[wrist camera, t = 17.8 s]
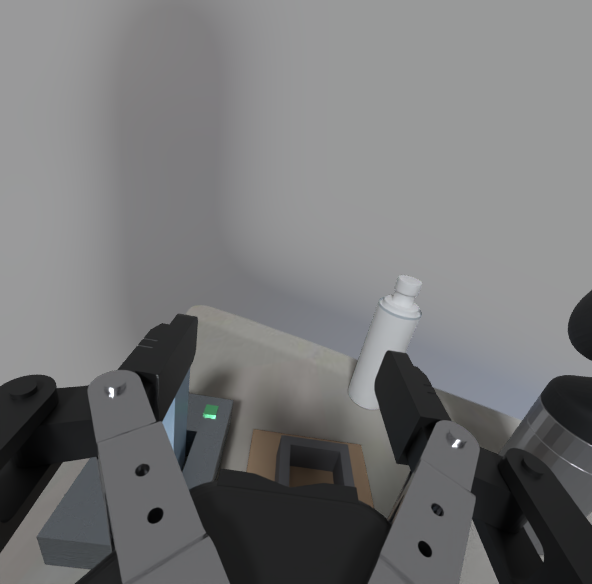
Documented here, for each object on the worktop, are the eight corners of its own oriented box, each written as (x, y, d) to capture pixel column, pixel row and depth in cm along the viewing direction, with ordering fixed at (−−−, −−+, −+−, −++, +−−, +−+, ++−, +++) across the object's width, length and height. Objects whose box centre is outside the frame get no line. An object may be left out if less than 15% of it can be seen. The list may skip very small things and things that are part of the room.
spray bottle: (347, 379, 59) (388, 258, 48) (381, 387, 58) (430, 267, 48) (348, 405, 52) (396, 272, 42) (386, 414, 52) (443, 283, 42)
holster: (253, 432, 44) (257, 408, 42) (359, 447, 45) (368, 426, 43) (229, 571, 29) (234, 545, 27) (388, 589, 31) (403, 565, 29)
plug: (149, 457, 38) (146, 330, 30) (184, 462, 38) (191, 337, 30) (131, 494, 34) (123, 358, 26) (171, 498, 34) (176, 366, 26)
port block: (140, 409, 44) (139, 384, 42) (230, 422, 45) (233, 398, 43) (44, 564, 27) (35, 534, 25) (189, 580, 28) (192, 553, 26)
